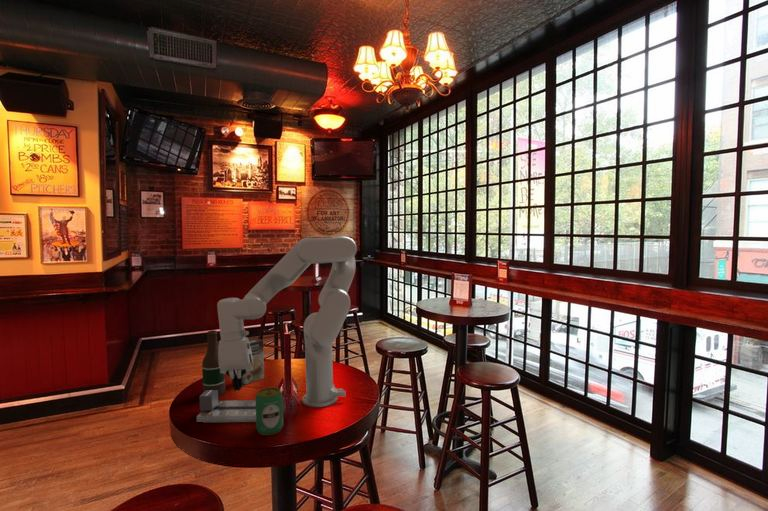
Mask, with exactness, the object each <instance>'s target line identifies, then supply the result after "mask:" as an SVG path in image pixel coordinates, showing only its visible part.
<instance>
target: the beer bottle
mask: <svg viewBox="0 0 768 511" xmlns="http://www.w3.org/2000/svg"><path fill="white" fill-rule="evenodd" d="M217 334H218V331H217V330H214V329H213V330H208V331H207V332H206V336H207V341H206V342H207V344H206V346H207V347H206V354H205V356H204V357H203V360H202V364H201V369H202V371H201V372H202V373H201V374H202V394H203V393H204V392H205V391H206V390H218V397H221V396H223V395H224V393H225V392H226V377H225V376H226V374H223V373H220V368H219V360H218V350H219V342H218V336H217Z"/></svg>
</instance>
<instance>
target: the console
mask: <svg viewBox="0 0 768 511" xmlns="http://www.w3.org/2000/svg"><path fill="white" fill-rule="evenodd" d="M197 422H203V423H256V401H255V399H251V400H250V399H249V400H248V399H247V400H245V399H244V400H238V399H237V400H218V405H217V406H216V407H215V408H214V409H213V410H201V412H199V414H197V415H196V423H197Z"/></svg>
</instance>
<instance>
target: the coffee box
mask: <svg viewBox="0 0 768 511" xmlns="http://www.w3.org/2000/svg"><path fill="white" fill-rule="evenodd" d="M248 340H249V343H250V347H251V351H252V357H253V363H252V367H253V370H252V371H250V372H246V373H245V374H244V375H243V385H247V384H248V385H249V384H251V383H254V382H257V381H260V380H262V379H265V363H264V361H265V358H264V357H265V356H264V354H265V353H264V340H263V339H260V338H251V339H248ZM236 373H238V370H236Z"/></svg>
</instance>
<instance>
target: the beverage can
mask: <svg viewBox="0 0 768 511" xmlns="http://www.w3.org/2000/svg"><path fill="white" fill-rule="evenodd" d="M254 400H255V401H256V422H255V424H256V425H255V427H256V430H257V433H258V434H259V435H260V436H261V435H263V436H272V435H275V434H278V433H279V432H281V431H282V429H283V427H284V402H283V393H282V391H281V389H280V388H279V387H275V386H270V387H264V388H261V389H259V390H258V391H257V392H256V395H255V398H254Z"/></svg>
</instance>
